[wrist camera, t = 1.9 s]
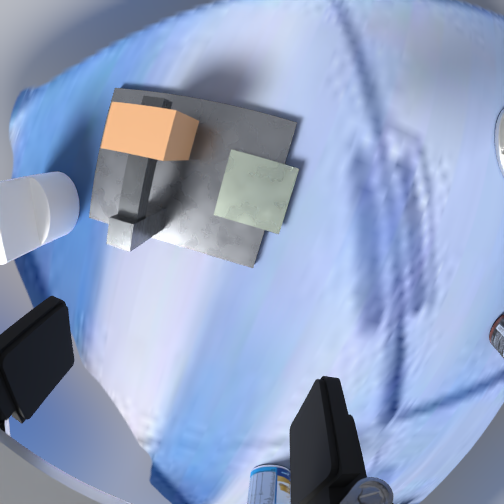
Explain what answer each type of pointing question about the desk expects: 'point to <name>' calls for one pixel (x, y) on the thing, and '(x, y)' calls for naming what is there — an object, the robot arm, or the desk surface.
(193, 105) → the stand
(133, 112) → the orange staple
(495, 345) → the supplement bottle
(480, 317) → the desk surface
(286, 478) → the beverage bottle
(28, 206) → the cylinder with rectangular tab
